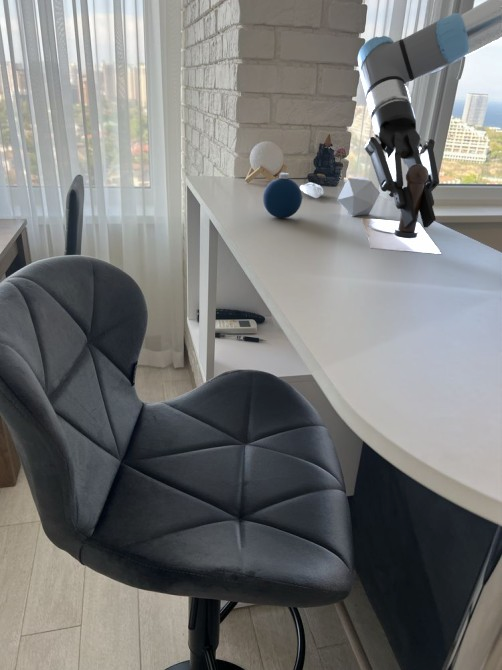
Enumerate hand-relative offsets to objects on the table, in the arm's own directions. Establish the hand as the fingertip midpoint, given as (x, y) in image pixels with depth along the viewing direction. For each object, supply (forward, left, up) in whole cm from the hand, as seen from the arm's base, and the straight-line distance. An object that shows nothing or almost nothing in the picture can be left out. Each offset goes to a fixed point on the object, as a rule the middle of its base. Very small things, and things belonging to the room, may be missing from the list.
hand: (420, 223), depth 88 cm
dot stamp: (+1, -4, -3) cm, 5 cm away
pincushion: (+19, -49, -6) cm, 53 cm away
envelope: (+1, -13, -6) cm, 14 cm away
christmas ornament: (+25, -21, -6) cm, 33 cm away
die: (+8, -31, -6) cm, 32 cm away
